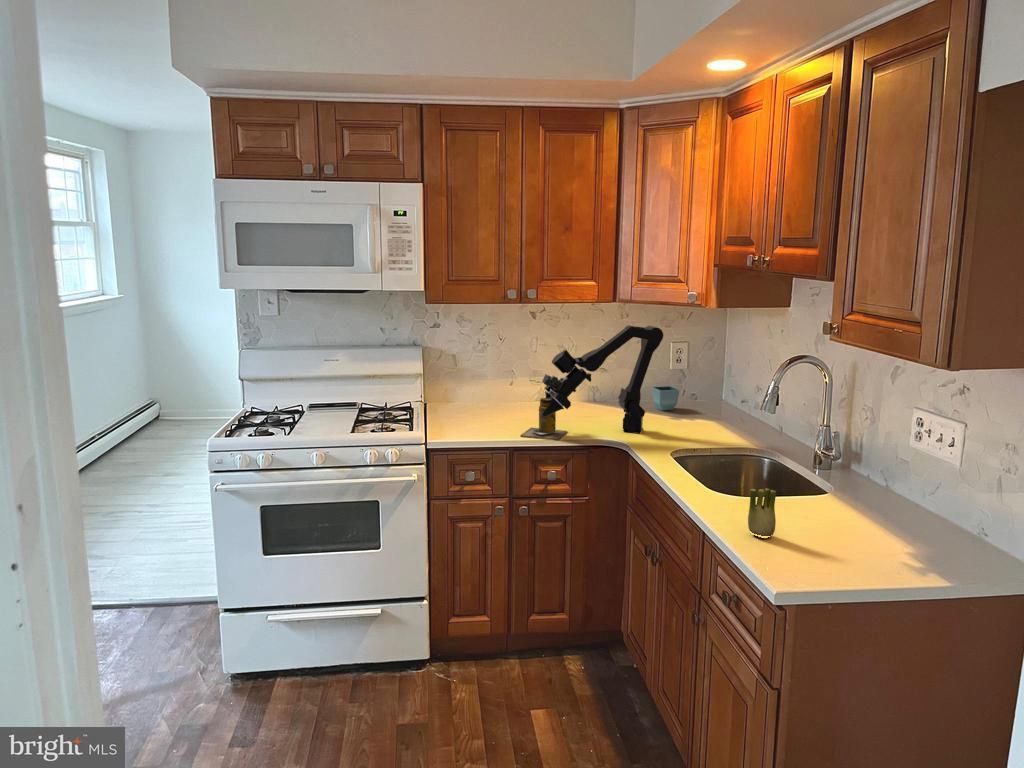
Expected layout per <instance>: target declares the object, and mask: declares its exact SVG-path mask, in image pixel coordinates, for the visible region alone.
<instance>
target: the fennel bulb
mask: <svg viewBox="0 0 1024 768" xmlns="http://www.w3.org/2000/svg"><path fill="white" fill-rule="evenodd" d="M756 491H757V490H756V489H755V488H751V489H750V491H749V496H750V497H749V506H748V507H749V508H748V516H747V526H748V530H749V532H750V531H751V532H752V533H754V534H757V535H761V536H771V535H772V536H773V535H774V533H775V531H776V526H777V525H776V523H777V522H776V520H777V519H776V511H775V507H776V506H775V504H776V496H777V491H776V490H773V489H770V488H768V487H767V488H765V489H761V488H760V489H758V492H757V493H756ZM756 496H757V497H756ZM772 536H771V537H772Z"/></svg>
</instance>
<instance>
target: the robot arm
mask: <svg viewBox="0 0 1024 768" xmlns="http://www.w3.org/2000/svg"><path fill="white" fill-rule="evenodd" d="M633 338H636V339H637V338H638V339H640V350H639V354H638V357H637V360H636V363H635V365H634V368H633V371H632V374H631V377H630V380H629V383H628V385H627V386H626V387H625V388H623V387H621V388H620V393H619V395H618V397H617V399H618V404H619V407H620V408H621V409H622V410H623V412H624V417H623V418H622V432H623V431H628V432H627V433H632V432H638V433H637V434H641V433H642V432H643V431H644V428H643V427H644V425H643V423H644V422H643V421H644V420H643V419H644V417H645V415H646V410H645V409H644V408H643V407H642V406H641V405H640V403H641V394H642V393H641V390H642V387H643V383H644V380H645V378H646V374H647V371H648V368H649V366H650V363H651V361H652V356H653V354H654V352H655V351H656V350H657V349H658V348H659V346H660V345H661V342H662V341H663V339H664V332H663V330H662V329H661V328H660V327H658V326H657V327H656V326H653V325H648V326H645V327H641V326H634V325H626V326H625V327H624V328H623V329H622V330H620V331H619V332H618V333H616V334H615V335H614V336H613V337H612V338H611V337H610V339H609V340H608V341H606V342H605V343H603V344H602V345H601V346H599V347H598V348H596V349H595V348H594V349H592V350H590V351H588V352H587V353H586V352H585V353H584V354H583V355H582V356H580V357H573V356H572V355H571V354H570V352H569V351H568V350H567V349H563V350H562V351H561V352H559V353H558V354H555V356H554V357H553V358H552V360H551V363H552V365H553V366H554V367H555V368H556V369H557V370H559V372H561V373H562V374H566V375H565V376H564V377H560V379H559V378H558V377H557V376H555V375H552V376H550V375H549V374H544V376H543V378H542V381H541V383H542V384H543V385H546V386H545V387H544V388H543V389H544V390H545V391H544V395H545V396H544V398H551V402H550V404H549V405H548V406H547V408H546V409H545V410H544V412H543V413H542V415H543V416H546V415H549V414H551V413H553V412H558V411H560V410H565V409H566V410H568V409H570V407H571V406H572V402H571V401H570V400H569V397H570V396H571V394H572V393H576V392H577V388H578V387H579V386H580V385H581V384H582V383H583V382H584V381H585V380H587V381H588V382H590V383H591V382H592V374H591V373H590V372H595V371H597V370H598V369H599V368H600V367H602V365H603V364H604V363H605V361H606V360H607V358H608V357H609V356H611V354H613V353H615V352H616V351H618V350H619V349H620V348H621V347H622V346H624V345H625V344H626V343H627V342H629V341H631V340H632V339H633ZM576 365H577V366H578V367H577V366H576ZM579 367H580V368H579ZM584 369H585V370H584ZM586 371H588V372H586ZM642 430H643V431H642ZM641 431H642V432H641ZM640 432H641V433H640Z"/></svg>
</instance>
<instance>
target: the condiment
mask: <svg viewBox="0 0 1024 768" xmlns="http://www.w3.org/2000/svg"><path fill="white" fill-rule="evenodd" d="M550 402H551V398H545V397H542V398H541V397H540V399H539V406H538V428H539V429H537V430H530V431H532V432H534V433H538V434H541V435H542V434H548V433H556V432H561V431H556V430H557V428H556V426H557V425H556V421H557V420H556V418H557V413H556V412H557V411H556V412H553V413H551V414H549V415H546V416H543V415H542V413H543V412H544V410H545V409H546V408H547V406H548V405H549V404H550Z"/></svg>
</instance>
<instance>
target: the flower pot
mask: <svg viewBox="0 0 1024 768" xmlns="http://www.w3.org/2000/svg"><path fill="white" fill-rule="evenodd" d="M651 393H652V400H653V403H654V405H655V407H656V409H658V410H660V411H662V410H663V411H673V410H674V409H675V407H677V404H678V401H679V396H680V389H678V388H676V387H674V386H672V385H671V386H669V385H667V386H666V385H665V386H652V387H651Z"/></svg>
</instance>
